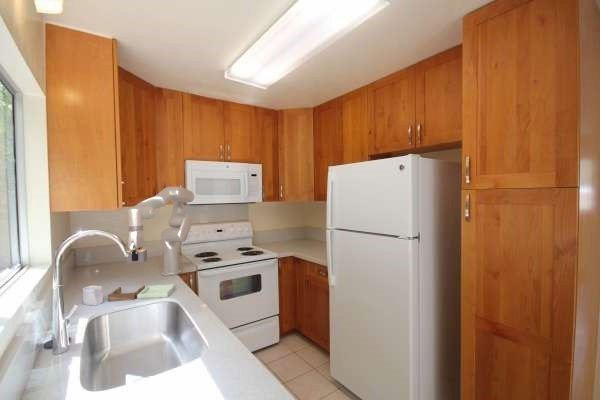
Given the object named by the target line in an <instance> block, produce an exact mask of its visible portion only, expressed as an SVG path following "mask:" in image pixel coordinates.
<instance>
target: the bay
mask: <svg viewBox="0 0 600 400" xmlns="http://www.w3.org/2000/svg"><path fill="white" fill-rule="evenodd" d="M145 288H146V285H144V284H143V285H142V286H141V287H139V289H137V290H135V291H134V292H125V293H122V286H119V287H118V288H116V289H114V290H113V291H112V292H110V293H109V294H107V301H108V302H123V301H136V300H137V295H138V294H139V293H140V292H141V291H142V290H143V289H145ZM135 299H136V300H135Z"/></svg>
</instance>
